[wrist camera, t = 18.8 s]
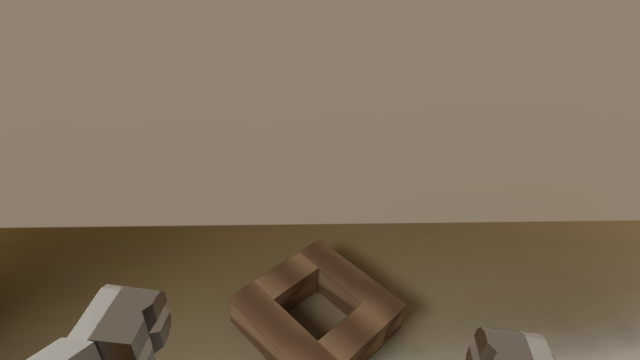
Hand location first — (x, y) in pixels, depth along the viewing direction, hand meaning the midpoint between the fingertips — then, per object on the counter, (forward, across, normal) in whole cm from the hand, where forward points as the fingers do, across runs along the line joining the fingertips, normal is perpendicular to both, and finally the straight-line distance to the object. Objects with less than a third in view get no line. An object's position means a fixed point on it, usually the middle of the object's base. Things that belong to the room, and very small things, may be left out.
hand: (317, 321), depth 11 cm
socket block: (+23, +1, +32) cm, 39 cm away
